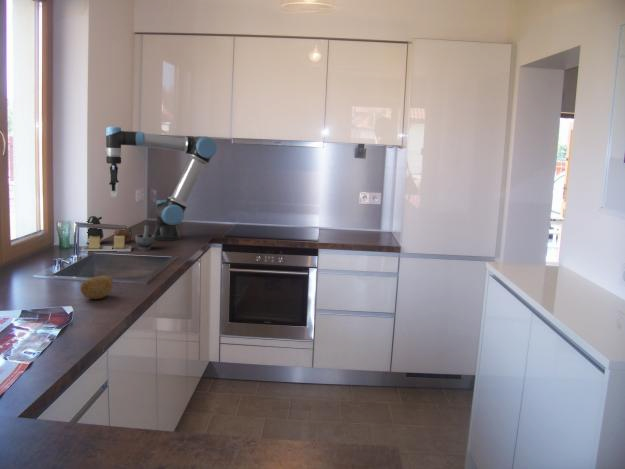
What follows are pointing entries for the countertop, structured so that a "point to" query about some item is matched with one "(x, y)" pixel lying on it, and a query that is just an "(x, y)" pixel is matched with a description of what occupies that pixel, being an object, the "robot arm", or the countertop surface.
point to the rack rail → (105, 248)
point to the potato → (97, 287)
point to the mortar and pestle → (144, 239)
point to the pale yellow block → (94, 242)
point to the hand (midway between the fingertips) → (114, 195)
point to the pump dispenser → (94, 230)
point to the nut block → (119, 242)
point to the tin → (124, 234)
